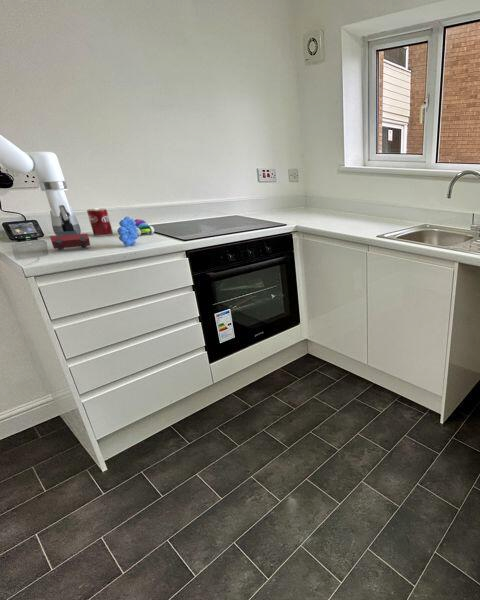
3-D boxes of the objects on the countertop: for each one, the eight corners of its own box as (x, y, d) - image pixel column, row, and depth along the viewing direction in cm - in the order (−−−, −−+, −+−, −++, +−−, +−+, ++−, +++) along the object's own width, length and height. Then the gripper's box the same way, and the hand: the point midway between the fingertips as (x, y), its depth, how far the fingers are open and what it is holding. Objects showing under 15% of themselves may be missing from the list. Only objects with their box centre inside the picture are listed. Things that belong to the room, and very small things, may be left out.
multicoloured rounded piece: (147, 231, 178) (143, 217, 175) (157, 234, 173) (154, 219, 170) (128, 234, 171) (124, 219, 168) (138, 236, 166) (134, 221, 164)
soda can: (112, 233, 172) (106, 208, 168) (113, 235, 167) (106, 209, 163) (93, 234, 168) (86, 208, 163) (94, 237, 163) (86, 210, 158)
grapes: (129, 242, 155) (122, 214, 151) (145, 242, 156) (139, 215, 151) (112, 248, 144) (104, 218, 140) (130, 248, 145) (122, 219, 141)
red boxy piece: (54, 250, 138) (52, 243, 133) (50, 239, 138) (48, 232, 134) (90, 247, 145) (89, 240, 140) (87, 236, 146) (85, 229, 141)
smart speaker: (55, 236, 162) (45, 204, 157) (81, 233, 168) (72, 204, 163) (55, 239, 155) (45, 207, 150) (83, 237, 161) (73, 206, 156)
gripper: (38, 185, 136) (55, 232, 143) (41, 188, 126) (59, 238, 133) (64, 184, 141) (79, 230, 148) (69, 187, 131) (85, 235, 138)
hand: (70, 234), depth 140 cm, fingers closed
